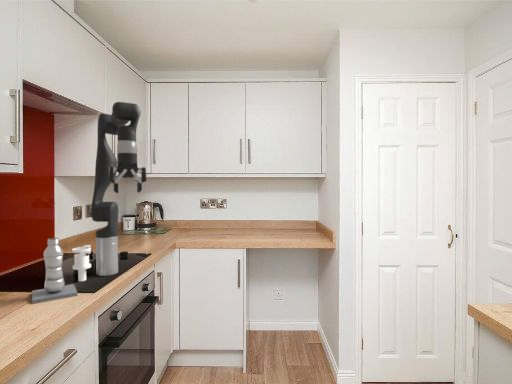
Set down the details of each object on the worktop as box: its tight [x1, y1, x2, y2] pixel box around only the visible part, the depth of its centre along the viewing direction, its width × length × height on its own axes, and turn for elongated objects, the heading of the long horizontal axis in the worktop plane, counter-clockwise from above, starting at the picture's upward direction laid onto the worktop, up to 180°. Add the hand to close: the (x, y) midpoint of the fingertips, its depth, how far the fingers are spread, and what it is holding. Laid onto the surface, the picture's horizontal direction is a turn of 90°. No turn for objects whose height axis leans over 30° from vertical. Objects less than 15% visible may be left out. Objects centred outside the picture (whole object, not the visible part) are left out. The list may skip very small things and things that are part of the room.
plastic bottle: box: [42, 237, 66, 292], centre depth 123 cm, size 6×7×20 cm
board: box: [31, 283, 78, 304], centre depth 124 cm, size 12×14×1 cm
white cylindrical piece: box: [71, 244, 92, 282], centre depth 141 cm, size 7×7×15 cm
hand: (127, 192), depth 133 cm, fingers open, 8 cm apart
